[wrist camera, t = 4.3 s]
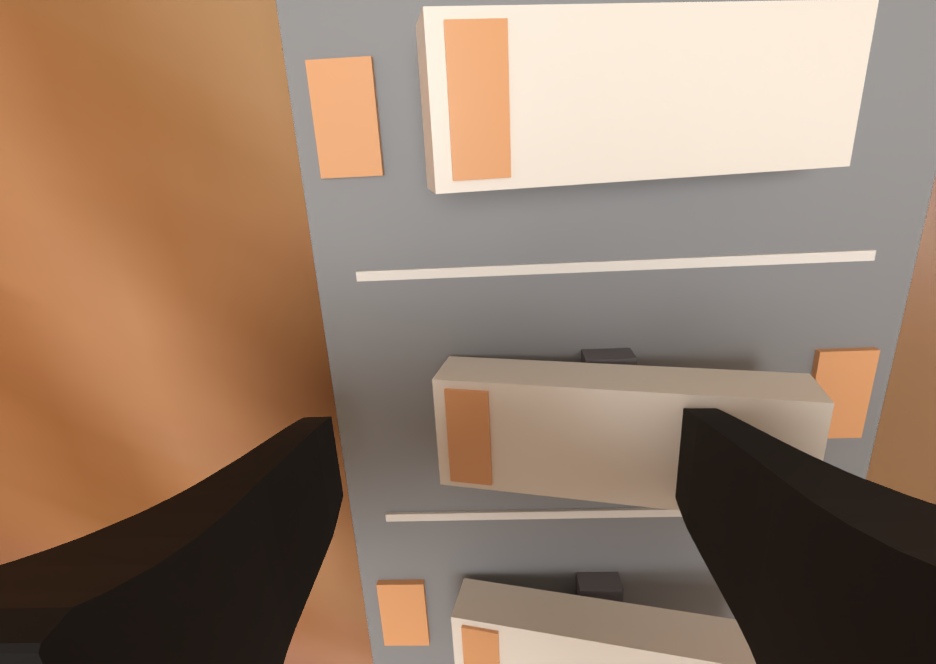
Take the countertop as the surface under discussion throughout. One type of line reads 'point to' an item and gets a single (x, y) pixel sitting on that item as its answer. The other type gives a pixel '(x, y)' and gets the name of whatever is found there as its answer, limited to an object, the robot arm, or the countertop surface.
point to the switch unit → (578, 306)
